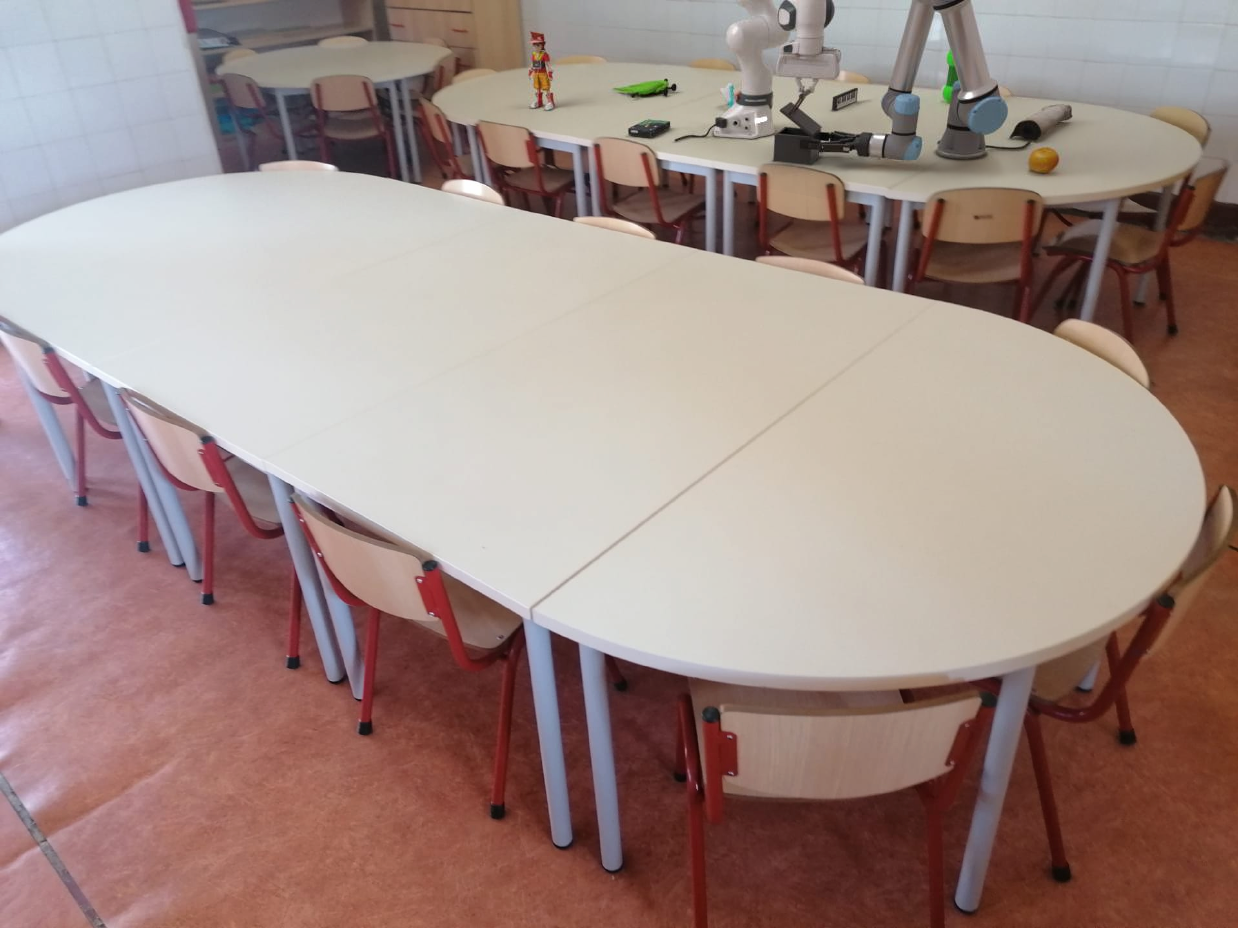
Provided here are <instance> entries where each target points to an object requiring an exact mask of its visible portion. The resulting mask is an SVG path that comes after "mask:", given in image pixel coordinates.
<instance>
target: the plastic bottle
mask: <svg viewBox="0 0 1238 928" xmlns="http://www.w3.org/2000/svg"><path fill="white" fill-rule="evenodd" d="M946 63H947V64H948V69H947V70H948V71H947V76H946V77H947V78H946V84H945V85H944V87H943V90H942V97H943V99H944V100H945V101H946V102H947V103H948V104H950V99H951V91H952V88H953V84H954V83H955V82H956V81H959V79H958V76H957V72H956V68H955V65H954V61H953V57H952V53H951V50H950V49H949V50H948V52H947V54H946Z"/></svg>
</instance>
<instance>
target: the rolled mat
mask: <svg viewBox="0 0 1238 928" xmlns="http://www.w3.org/2000/svg"><path fill="white" fill-rule="evenodd" d="M1072 118H1073V109H1072V106H1071V105H1070V104H1064V103H1062V104H1061V103H1060V104H1059V103H1057V104H1053V105H1047V106H1044V107H1043V108H1042V109H1041V110H1040V111H1038V112H1036V113H1034V114H1032V115H1030V116H1028V117H1026V118H1024V119H1023V120H1021V121H1019V122H1017V123H1016V125H1015V127H1014V128H1013V130H1012V132H1011V134H1010V136H1009V139H1013V138H1015V137H1020V138H1022V139H1023V140H1025V141H1029V142H1036V141H1038V140H1040V138H1042V137H1043V136H1044V135H1045V134H1046V133H1047V131H1049V130H1050V129H1051V128H1053V127H1054V126H1055V125H1056V124H1057V123H1059V122H1064V121H1065V122H1067V121H1069V120H1071V119H1072Z"/></svg>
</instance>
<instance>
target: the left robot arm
mask: <svg viewBox="0 0 1238 928" xmlns="http://www.w3.org/2000/svg"><path fill="white" fill-rule="evenodd" d="M736 3H737V4H738V5H739V6H740V7H742V8H743V9H745V10H746V11H747V13H748V15H749V16H750V17H748V18H744V19H740V20H738V21H735V22H734V23H732V24H731V25H729V27H728V28H727V31H726V35H725V42H726V45H727V47H728V49H729V50H730V52H731V53H733V55H735V56H736V59H737V61H738V63H739V67H740V73H741V74H740V75H741V89H740V90H741V91H739V90H737V91H736V92H737V93H736V92H735V93H736V103H735V104H734V105H733V106H732V107H730V106H729V108H727V110H726V111H724V113H722V114H721V116H717V117H715V123H714V124H713V125H711V126H710V127H709V128H708V130H707V132H706V133H705V134H703V135H698V134H697V135H696V134H686V135H683V136H680V137H677V138H675V139H674V142H677V141H681V140H683V139H686V138H706V137H707V136H708V135H709V134H710V132H711V130H712V129H713V128H714V130H713V135H714V136H715V137H721V138H722V137H723V138H736V139H737V138H738V139H750V140H753V139H754V140H755V139H758V138H761V137H766V136H770V135H773V134H775V133H776V131H775V127H774V120H773V107H774V91H773V77H774V76H773V75H774V71H773V68H772V66H771V65H770V64H769V63H768V62H766V61H765V60H764V56H763V55H764V54H763V51H766V50H772V49H775V48H778V47H780V49H779V50H780V54H779V55H778V58H777V63H776V71H775V72H776V75H777V77H783V78H795V83H796V85H797V87H798V88H797V91H798V93H802V92H804V91H805V85H803V83H802V80H803V79H812V85H810V86H809V87H808V89H809V91H808V92H809V93H810V94H814V93H815V91H816V90H815V88H816V86H817V84H818V83H819V80H836V79H837V78H838V77H839V76H840V69H841V65H840V61H841V59H842V58H841V57H842V52H841V50H840V49H838V47H835V46H833V47H831V46H830V47H829V46H824V45H825V31H824V30H825V29H826V28H827V27H828V26H829V25H830V24H831V22H832V20H833V19H834V16H835V13H836V10H835V9H836V8H835V3H834V1H833V0H783V1H782V2H781V4H780V5H779V7H778V8H777V7H776V5H775V4H774V2H773V0H736ZM791 32H796V33H795V39H794V40H791V41H788V40H789V39H790V36H791Z"/></svg>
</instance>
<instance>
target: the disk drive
mask: <svg viewBox="0 0 1238 928" xmlns="http://www.w3.org/2000/svg"><path fill="white" fill-rule="evenodd" d="M670 128H671V121H669V120H661V119H650V118H649V119H645V120H642V121H641V122H638V123H637V124H635V125H632V126H630V127H628V128H627V135H628V136H633V137H641V138H653V137H655V136H658V135H660V134H661V133H663V132H665V131H667V130H669V129H670Z"/></svg>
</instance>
